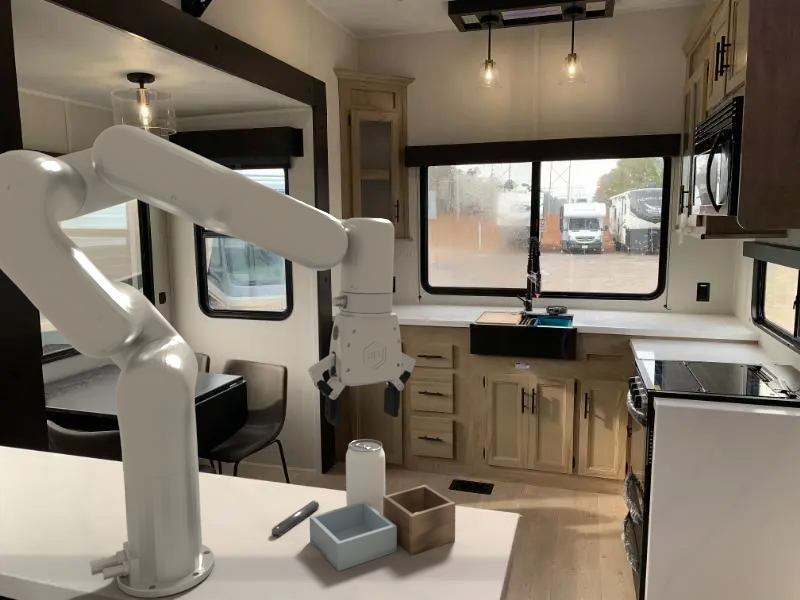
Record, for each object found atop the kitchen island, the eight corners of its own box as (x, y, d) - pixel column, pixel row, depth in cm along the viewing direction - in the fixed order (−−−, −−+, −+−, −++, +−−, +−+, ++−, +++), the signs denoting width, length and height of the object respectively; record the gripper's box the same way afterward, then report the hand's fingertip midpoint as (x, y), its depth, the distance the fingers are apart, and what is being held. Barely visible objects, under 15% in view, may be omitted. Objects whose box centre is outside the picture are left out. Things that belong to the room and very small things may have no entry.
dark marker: (277, 539, 94) (277, 529, 93) (269, 537, 94) (269, 527, 94) (320, 509, 104) (320, 500, 104) (313, 507, 104) (313, 498, 104)
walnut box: (411, 555, 88) (411, 516, 88) (383, 532, 95) (383, 496, 94) (455, 540, 93) (455, 503, 92) (425, 519, 99) (425, 484, 99)
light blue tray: (338, 571, 84) (338, 544, 84) (310, 541, 93) (309, 516, 92) (396, 551, 90) (396, 525, 89) (364, 524, 98) (364, 501, 97)
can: (368, 527, 97) (367, 455, 95) (338, 515, 101) (337, 446, 99) (393, 512, 102) (392, 443, 101) (363, 501, 106) (363, 435, 104)
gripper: (322, 309, 80) (320, 435, 81) (430, 305, 89) (425, 418, 91) (300, 303, 86) (298, 420, 88) (402, 299, 95) (398, 405, 97)
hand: (363, 419), depth 89 cm, fingers open, 9 cm apart
